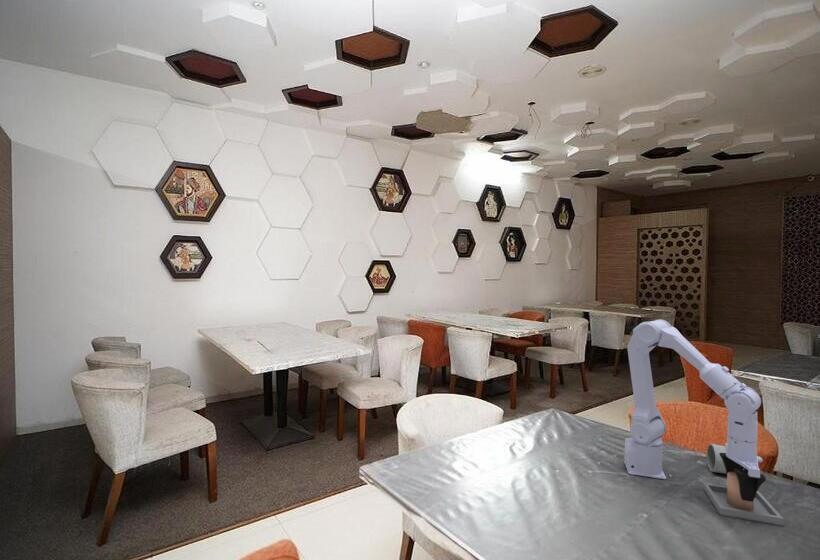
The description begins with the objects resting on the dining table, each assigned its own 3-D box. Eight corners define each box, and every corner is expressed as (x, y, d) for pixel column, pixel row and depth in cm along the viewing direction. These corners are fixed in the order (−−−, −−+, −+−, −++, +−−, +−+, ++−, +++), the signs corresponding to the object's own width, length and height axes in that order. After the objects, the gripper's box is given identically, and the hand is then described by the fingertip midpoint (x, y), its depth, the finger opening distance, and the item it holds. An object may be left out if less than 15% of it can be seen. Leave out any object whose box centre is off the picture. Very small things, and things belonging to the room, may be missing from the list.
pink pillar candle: (731, 508, 99) (732, 480, 98) (723, 497, 104) (723, 470, 103) (757, 512, 97) (758, 484, 97) (747, 500, 102) (748, 473, 102)
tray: (720, 515, 97) (720, 508, 97) (703, 489, 108) (703, 482, 108) (783, 526, 93) (783, 518, 92) (758, 498, 104) (758, 491, 104)
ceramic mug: (750, 481, 112) (750, 454, 112) (714, 476, 115) (715, 449, 115) (734, 464, 122) (734, 439, 122) (702, 460, 125) (702, 435, 125)
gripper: (777, 453, 92) (775, 511, 92) (748, 428, 105) (747, 480, 106) (739, 448, 94) (737, 505, 94) (716, 425, 108) (714, 475, 108)
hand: (740, 491), depth 100 cm, fingers open, 7 cm apart
